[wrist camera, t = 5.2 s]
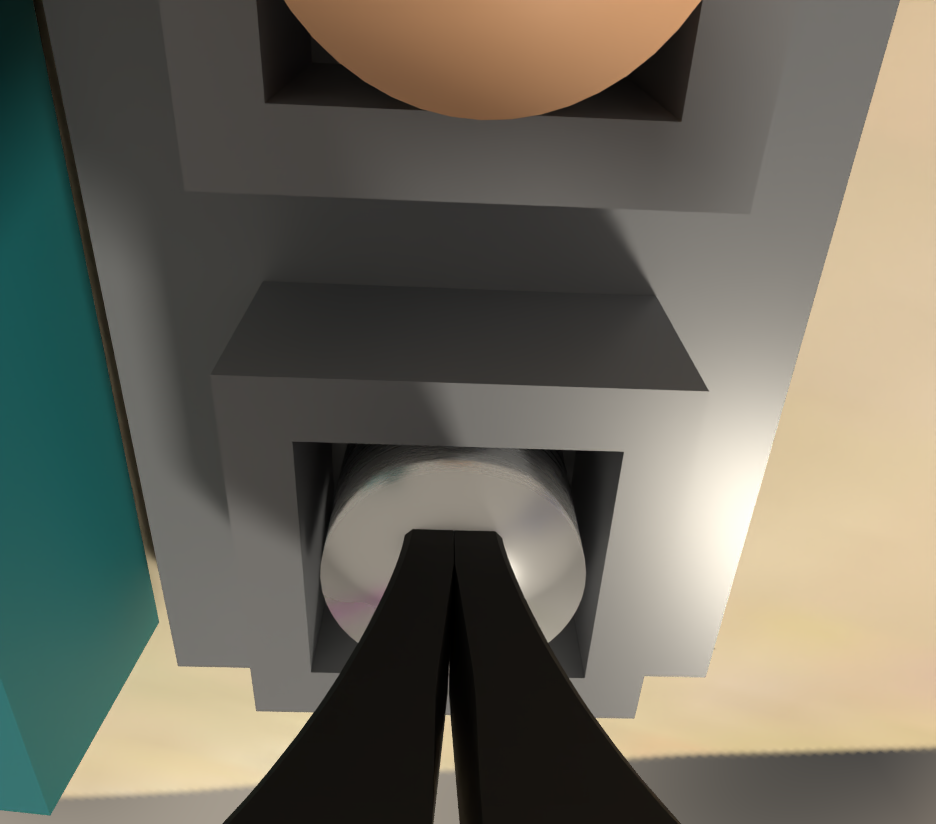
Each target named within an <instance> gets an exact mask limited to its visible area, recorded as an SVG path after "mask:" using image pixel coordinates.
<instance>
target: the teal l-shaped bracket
mask: <svg viewBox="0 0 936 824" xmlns="http://www.w3.org/2000/svg"><path fill="white" fill-rule="evenodd" d="M158 623H159V620H158V615H157V610H156V605H155V600H154V595H153V590H152V585H151V580H150V575H149V570H148V565H147V560H146V555H145V551H144V546H143V541H142V536H141V531H140V526H139V521H138V516H137V511H136V506H135V501H134V496H133V491H132V486H131V481H130V477H129V472H128V467H127V462H126V457H125V452H124V447H123V442H122V437H121V432H120V427H119V422H118V417H117V412H116V408H115V403H114V398H113V393H112V388H111V383H110V378H109V373H108V368H107V363H106V358H105V353H104V348H103V343H102V338H101V334H100V329H99V324H98V319H97V314H96V309H95V304H94V299H93V294H92V289H91V284H90V279H89V274H88V269H87V265H86V260H85V255H84V250H83V245H82V240H81V235H80V230H79V225H78V220H77V215H76V210H75V205H74V200H73V195H72V191H71V186H70V181H69V176H68V171H67V166H66V161H65V156H64V151H63V146H62V141H61V136H60V131H59V126H58V122H57V117H56V112H55V107H54V102H53V97H52V92H51V87H50V82H49V77H48V72H47V67H46V62H45V57H44V52H43V48H42V43H41V38H40V33H39V28H38V23H37V18H36V13H35V8H34V3H33V0H0V810H4V811H13V812H24V813H32V814H41V815H51V813H52V811H53V810H54V808H55V806H56V804H57V803H58V801H59V799H60V797H61V795H62V794H63V792H64V790H65V788H66V787H67V785H68V783H69V781H70V779H71V778H72V776H73V774H74V772H75V771H76V769H77V767H78V765H79V764H80V762H81V760H82V758H83V756H84V755H85V753H86V751H87V749H88V748H89V746H90V744H91V742H92V740H93V739H94V737H95V735H96V733H97V732H98V730H99V728H100V726H101V724H102V723H103V721H104V719H105V717H106V716H107V714H108V712H109V710H110V708H111V707H112V705H113V703H114V701H115V700H116V698H117V696H118V694H119V692H120V691H121V689H122V687H123V685H124V684H125V682H126V680H127V678H128V676H129V675H130V673H131V671H132V669H133V668H134V666H135V664H136V662H137V660H138V659H139V657H140V655H141V653H142V652H143V650H144V648H145V646H146V644H147V643H148V641H149V639H150V637H151V636H152V634H153V632H154V630H155V628H156V627H157V625H158Z"/></svg>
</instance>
